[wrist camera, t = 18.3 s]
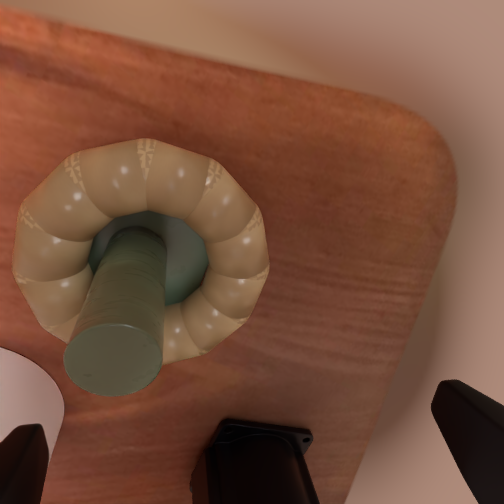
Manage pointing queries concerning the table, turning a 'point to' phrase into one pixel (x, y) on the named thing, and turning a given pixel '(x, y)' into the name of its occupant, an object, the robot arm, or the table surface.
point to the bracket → (28, 397)
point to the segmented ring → (134, 201)
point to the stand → (132, 301)
